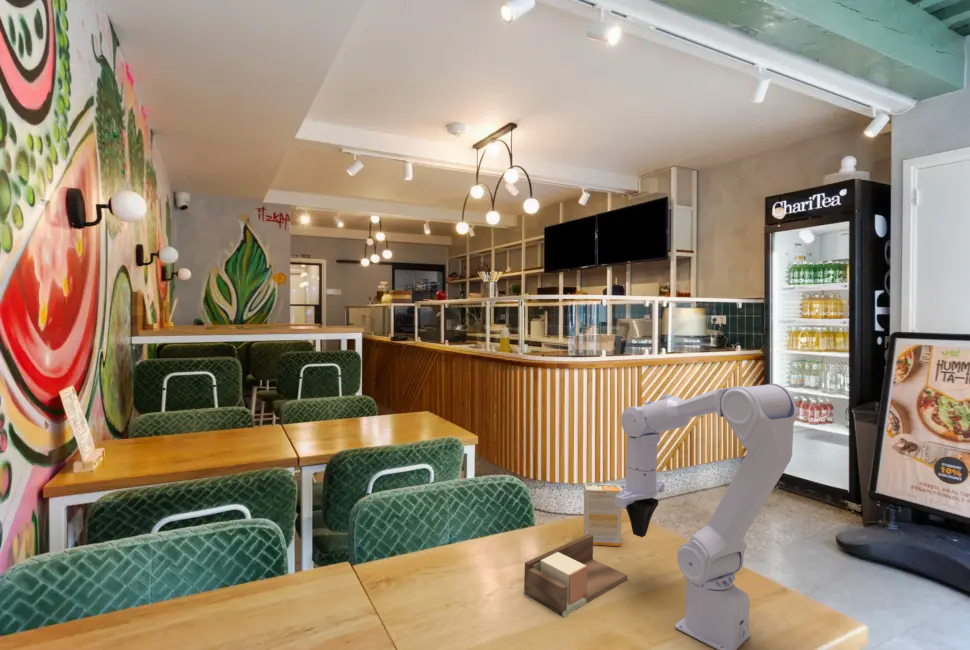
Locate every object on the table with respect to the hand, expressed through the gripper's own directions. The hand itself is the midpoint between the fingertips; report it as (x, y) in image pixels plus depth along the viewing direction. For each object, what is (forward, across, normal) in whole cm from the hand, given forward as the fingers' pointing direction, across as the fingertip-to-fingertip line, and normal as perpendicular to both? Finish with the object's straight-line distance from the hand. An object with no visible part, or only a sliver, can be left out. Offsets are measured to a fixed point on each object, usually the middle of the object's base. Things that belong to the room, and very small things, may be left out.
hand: (639, 534), depth 103 cm
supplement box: (+10, -10, -16) cm, 21 cm away
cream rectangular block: (+9, +15, -7) cm, 19 cm away
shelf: (+10, +11, -7) cm, 16 cm away
